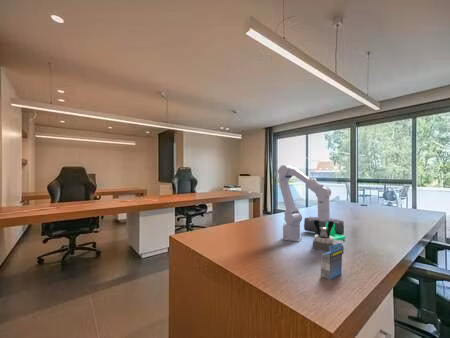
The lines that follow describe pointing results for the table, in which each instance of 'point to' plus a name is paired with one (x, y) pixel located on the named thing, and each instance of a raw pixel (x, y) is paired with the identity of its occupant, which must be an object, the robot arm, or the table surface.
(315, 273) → the table surface
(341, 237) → the camera mount
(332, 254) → the label tape box
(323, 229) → the lens
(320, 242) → the camera body
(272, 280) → the table surface
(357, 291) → the table surface
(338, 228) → the bluetooth speaker
